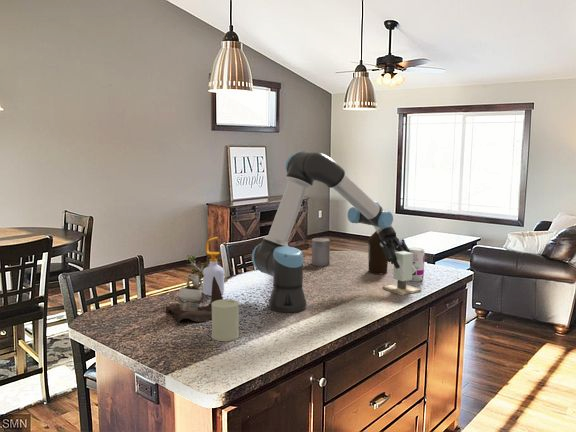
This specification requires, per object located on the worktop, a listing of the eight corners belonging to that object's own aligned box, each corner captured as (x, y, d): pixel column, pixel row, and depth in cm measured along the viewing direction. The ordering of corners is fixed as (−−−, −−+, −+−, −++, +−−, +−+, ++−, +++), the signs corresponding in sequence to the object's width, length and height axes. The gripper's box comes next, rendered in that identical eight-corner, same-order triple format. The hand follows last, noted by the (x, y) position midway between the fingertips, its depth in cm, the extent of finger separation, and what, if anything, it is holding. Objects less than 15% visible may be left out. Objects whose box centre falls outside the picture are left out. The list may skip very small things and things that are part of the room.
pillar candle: (320, 261, 289) (321, 234, 287) (333, 264, 282) (333, 237, 280) (307, 263, 283) (308, 236, 281) (320, 267, 276) (320, 239, 274)
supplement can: (421, 277, 257) (423, 247, 255) (424, 281, 249) (426, 251, 247) (405, 276, 258) (406, 247, 256) (407, 281, 250) (408, 250, 248)
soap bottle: (222, 296, 221) (222, 239, 217) (201, 295, 221) (200, 239, 218) (225, 290, 230) (225, 235, 226) (205, 290, 230) (204, 235, 226)
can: (244, 336, 176) (244, 301, 174) (224, 343, 169) (223, 307, 168) (226, 329, 182) (226, 296, 181) (205, 336, 175) (205, 301, 174)
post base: (400, 295, 226) (401, 277, 225) (382, 288, 237) (383, 271, 236) (421, 291, 233) (422, 274, 231) (402, 285, 243) (403, 268, 242)
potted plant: (161, 317, 201) (173, 253, 205) (207, 321, 210) (217, 260, 214) (178, 323, 184) (190, 253, 188) (226, 328, 193) (237, 262, 197)
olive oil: (389, 270, 271) (391, 222, 267) (386, 275, 261) (388, 225, 257) (369, 268, 274) (371, 221, 271) (365, 273, 264) (367, 224, 261)
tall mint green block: (402, 281, 230) (403, 254, 228) (393, 278, 235) (394, 252, 233) (411, 279, 233) (413, 253, 231) (402, 276, 238) (404, 250, 236)
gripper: (396, 234, 249) (419, 275, 238) (365, 237, 240) (388, 280, 228) (404, 224, 244) (428, 266, 232) (373, 227, 235) (396, 271, 223)
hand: (408, 273), depth 230 cm, fingers closed on tall mint green block, 6 cm apart
